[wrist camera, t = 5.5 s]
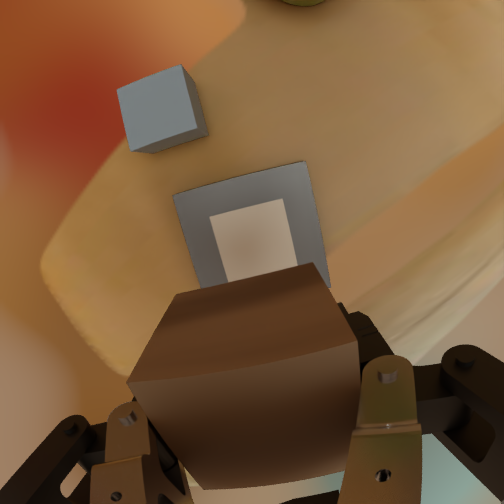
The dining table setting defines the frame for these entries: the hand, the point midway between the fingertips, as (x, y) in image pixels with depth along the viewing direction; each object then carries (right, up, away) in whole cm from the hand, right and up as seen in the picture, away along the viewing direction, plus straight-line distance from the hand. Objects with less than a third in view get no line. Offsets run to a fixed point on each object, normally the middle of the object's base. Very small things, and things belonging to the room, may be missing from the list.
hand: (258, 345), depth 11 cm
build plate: (0, +4, +15) cm, 16 cm away
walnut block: (0, 0, 0) cm, 0 cm away
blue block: (-7, +15, +12) cm, 20 cm away
